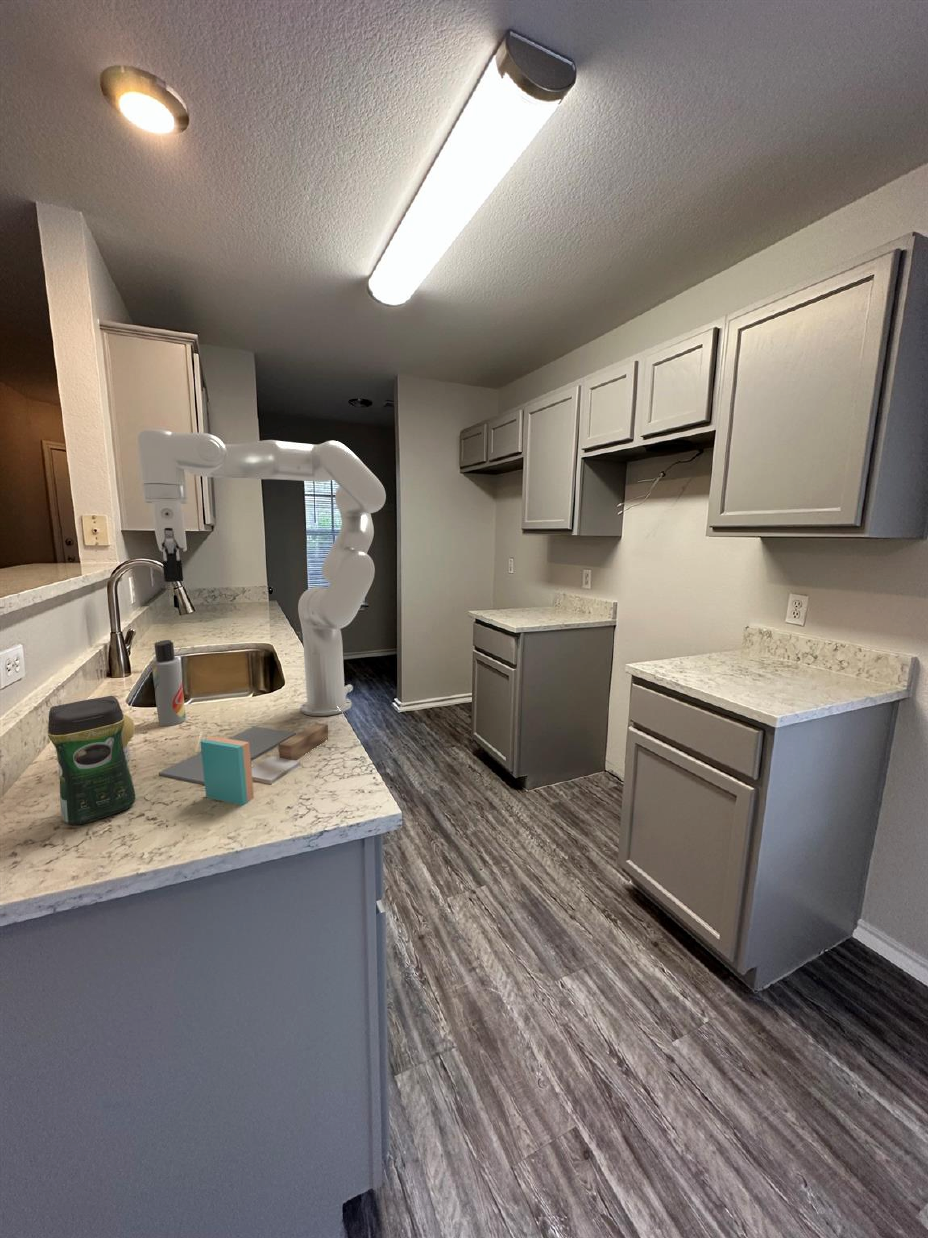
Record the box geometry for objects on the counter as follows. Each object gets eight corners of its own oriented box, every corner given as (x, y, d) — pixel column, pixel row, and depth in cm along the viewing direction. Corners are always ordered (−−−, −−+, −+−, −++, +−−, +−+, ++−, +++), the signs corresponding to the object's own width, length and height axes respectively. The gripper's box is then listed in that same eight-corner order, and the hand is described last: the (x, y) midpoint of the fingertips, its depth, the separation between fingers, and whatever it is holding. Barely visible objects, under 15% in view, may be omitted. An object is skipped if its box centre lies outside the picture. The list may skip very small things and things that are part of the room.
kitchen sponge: (217, 790, 85) (212, 736, 83) (253, 798, 82) (249, 742, 80) (206, 797, 82) (200, 741, 81) (243, 805, 80) (237, 748, 78)
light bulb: (94, 773, 91) (87, 723, 90) (104, 760, 97) (97, 712, 95) (134, 767, 94) (128, 718, 92) (141, 754, 100) (135, 707, 98)
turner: (309, 737, 108) (308, 721, 107) (336, 741, 105) (335, 725, 105) (240, 778, 89) (239, 760, 88) (271, 784, 87) (270, 765, 86)
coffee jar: (131, 791, 85) (118, 688, 82) (139, 809, 79) (125, 699, 76) (59, 812, 78) (42, 701, 75) (63, 833, 72) (45, 715, 70)
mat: (253, 728, 113) (253, 726, 113) (296, 734, 109) (296, 732, 109) (159, 775, 90) (158, 772, 90) (208, 785, 86) (207, 782, 86)
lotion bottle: (191, 718, 120) (182, 638, 117) (175, 726, 114) (166, 643, 111) (169, 717, 120) (160, 638, 117) (153, 726, 115) (143, 643, 112)
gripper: (187, 492, 92) (196, 581, 95) (186, 499, 107) (193, 576, 110) (140, 490, 88) (150, 583, 91) (145, 498, 103) (154, 578, 106)
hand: (174, 579), depth 100 cm, fingers open, 9 cm apart
